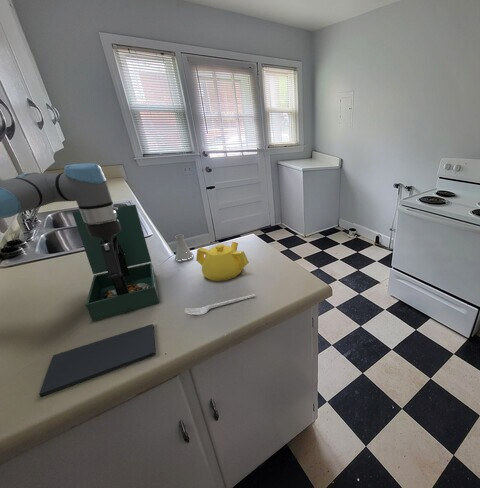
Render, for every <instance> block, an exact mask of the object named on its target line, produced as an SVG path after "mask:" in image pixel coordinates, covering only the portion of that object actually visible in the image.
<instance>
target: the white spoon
mask: <svg viewBox="0 0 480 488" xmlns="http://www.w3.org/2000/svg"><path fill="white" fill-rule="evenodd" d="M254 297H256V294H253V293H252V294H249V295H245V296H240V297H236V298H232V299H229V300H228V299H227V300H225V301H221V302H215V303H212V304H207V305H205V306H202V307H196V308H186V307H185V308H183V309H184V313H185V314H187V315H191V316H202V315H205V314H207V313H208V312H209V310H210V309H214V308H217V307H220V306H224V305H225V306H226V305H228V304H232V303H235V302H239V301H243V300H247V299H251V298H254Z"/></svg>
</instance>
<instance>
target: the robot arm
mask: <svg viewBox="0 0 480 488" xmlns="http://www.w3.org/2000/svg"><path fill="white" fill-rule="evenodd" d="M63 169H64V170H63V171H64V172H30V173H21V174H18V175H16V176H15V177H13V178H7V179H2V178H0V220H3V219H6V218H12V217H14V216H16V215H18V214H22V213H24V212H28V211H30V210H33V209H37V208H40V207H44V206H47V205H50V204H53V203H63V202H76V204H77V207H78V210H79V211H80V213H81V215H82V218H83V221H84V222H85V223H87V224H86V228H87V230H88V233H89V235H90V236H91V237H94V238H97V237H98V238H101V242H100V247H101V249H102V252H103V256H104V260H105V263H106V267H107V271H106V272H108V275H109V276H108V277H107V279H112V282H113V285H114V287H115V290H116V293H117V295H118V296H119V295H123V294H127V293H129V291H128V288H127V285H126V282H125V279H124V277H125V276H129V275H130V272H129V269H128V268H129V267H128V266H127V264H126V261H125V258H124V257H123V256H126V253H123V250H122V247H121V245H120V243H119V240H118V237H117V236H116V234H118V233H119V232H121V230H122V228H121V225H120V222H119V220H118V219H117V218H116V217H117V214H116V211H115V210H118V208H117V207H118V206H114V202H113V199H112V196H111V192H110V189H109V186H108V182H107V178H106V176H105V174H104V172H103V169H102V167H101V166H100V165H99V164H97V163H94V162H92V163H90V162H87V163H86V162H85V163H73V164H67V165H65V166H64V168H63ZM113 273H114V274H113Z"/></svg>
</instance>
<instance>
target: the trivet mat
mask: <svg viewBox="0 0 480 488" xmlns="http://www.w3.org/2000/svg"><path fill="white" fill-rule="evenodd" d="M156 355H157V353H156V343H155V331H154V324H153V323H151V324H148V325H145V326H142V327H138V328H135V329H132V330H129V331H125V332H123V333H119V334H115V335H113V336H109V337H107V338H104V339H100V340H96V341H94V342H90V343H87V344H84V345H81V346H77V347H74V348H72V349H69V350H66V351H65V350H64V351H62V352H60V353H57V354H53V355H52V358H51V360H50V363H49V365H48V369H47V371H46V374H45V377H44V378H43V379H44V380H43V382H42V385H41V386H40V387H41V388H40V390H39V393H38V395H39V396H40V397H44V396H47V395H50V394H52V393H55V392H57V391H60V390H63V389H65V388H68V387H71V386H75V385H77V384H79V383H82V382H84V381H88V380H90V379H93V378H96V377H98V376H101V375H104V374H107V373H109V372H112V371H116V370H117V369H121V368H123V367H126V366H128V365H131V364H134V363H136V362H140V361H142V360H144V359H147V358H150V357H154V356H156Z"/></svg>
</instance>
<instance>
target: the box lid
mask: <svg viewBox="0 0 480 488" xmlns="http://www.w3.org/2000/svg"><path fill="white" fill-rule="evenodd" d="M116 207H117V208H118V210H115V211H116V214H117V217H116V218H117V219H118V220H119V222H120V225H121V228H122V230H121V232H119V233H118V234H116V236H117V237H118V240H119V243H120V245H121V247H122V250H123V253H126V256H123V257H124V258H125V261H126V264H127V266H128V268H130V267H134V266H139V265H144V264H148V263H152V258H151V255H150V251H149V247H148V244H147V240H146V237H145V233H144V230H143V227H142V222H141V219H140V216H139V212H138V209H137V205H136V204H129V205H120V206H116ZM71 214H72V216H73V220H74V222H75V225H76V228H77V230H78V234H79V236H80V240H81V242H82V245H83V248H84V251H85V255H86V257H87V261H88V263H89V266H90V269H91V272H92V275H98V274H102V273H107V272H108V271H107V267H106V263H105V260H104V256H103V252H102V249H101V247H100V242H101V238H98V237H97V238H94V237H91V236H90V235H89V233H88V230H87V228H86V224H87V223H85V222H84V221H83V218H82V215H81V213H80V210H79V211H72V212H71Z"/></svg>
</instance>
